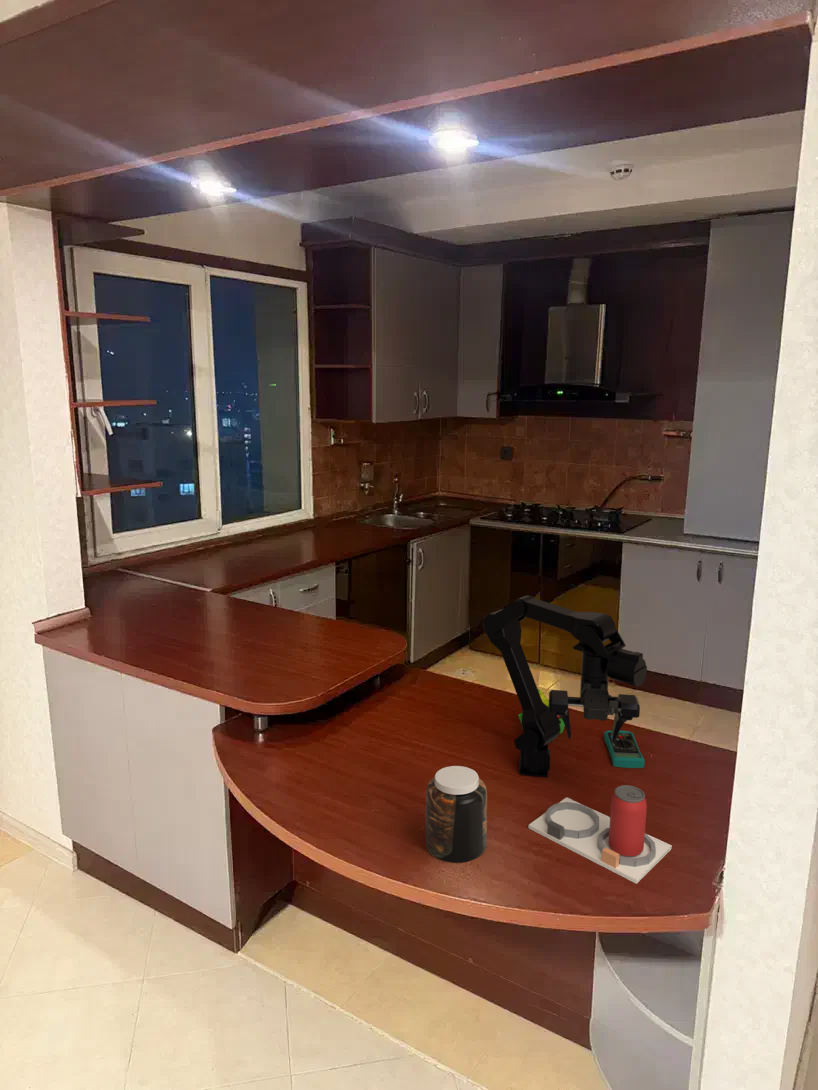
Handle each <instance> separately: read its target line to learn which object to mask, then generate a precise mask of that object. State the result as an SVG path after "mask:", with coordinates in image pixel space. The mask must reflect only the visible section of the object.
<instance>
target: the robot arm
mask: <svg viewBox="0 0 818 1090" xmlns="http://www.w3.org/2000/svg"><path fill="white" fill-rule="evenodd" d="M526 618H528V619H531V620H534V621H537V622H540V623H542V624H546V625H547V626H548V625H549V626H551V627H554V628H556V629H560V630H564V631H566V632H567V633H569V634H571V635H572V637H573V638H574V639H575V640H576V641H578V643H576V644H575V645H574V646H572V648H573V650H575V651H578V652H581V653H582V654H581V656H582V657H581V669H580V670H581V671H580V672H581V673H580V690H579V691H580V692H579V696H569V694H568V690H563V689H562V690H561V689H559V690H558V689H551V690H550V691H549V693H548V700H549V707H547V706H546V705H545V704H544V703H543V701H542V699H541V697H540V694H539V691H538V689H539V688H538V687H537V684H536V681H535V678H534V675H533V673H532V671H531V668H530V666H529V663H528V659H527V658H526V655H525V652H524V649H523V647H522V645H521V641H522V640H521V639H522V626H521V622H522V621H523V620H524V619H526ZM482 627H483V631H484V632H485V634H486V636H487V639H488V640H489V642H490V643H491V644H492V645H494V647H495V648H496V649H498V650H499V651H500V653H501V656H502V659H503V661H504V663H505V666H506V669H507V673H508V675H509V677H510V680H511V682H512V685H513V688H514V691H515V693H516V696H517V698H518V701H519V704H520V706H521V710H522V711H521V713H522V723H521V722H520V724H522V725H521V729H522V728H523V729H522V731H523V733H522V734H521V735H519V736H517V737H516V738H514V740H513V743H514V747H515V749H516V750H517V751H518V750H519V751H520V755H519V757H520V758H519V763H518V764H519V766H518V767H519V768H518V774H519V775H520V776H527V777H528V776H529V777H539V778H540V777H542V778H547V777H548V772H549V771H550V768H551V750H550V749H549V744H551V743H553V742H554V740H555V739H557V738H558V737H559V735H560V734H561V733H560V731H561V728H560V723H561V721H560V720H559V718H558V716H557V715H560V716H561V718H562V720H563V722H564V724H565V727H564V728H565V730H566V733H567V737H568V739H571V737H572V730H571V721H570V711H569V707H581V708H583V709H582V710H583V718H584V719H585V720H589V721H592V720H597V721H603V722H604V721H607V720H608V716H614V719H613V723H612V742H614V741H615V739H616V737H617V735H618V733H619V731H620V730H621V728H622V727H623V725H624V724H625V723H626V722H627V721H632V720H633V718H636V719H637V718H640V713H641V712H640V711H641V706H640V703H639V699H638V697H637V696H636V695H635V694H623V693H621V694H620V693H619V694H618V695H617V696H612V695H611V694H610V693H609V679H611V680H615V681H617V682H620V683H624V684H627V685H630V686H634V687H638V688H639V687H640V686H641V685H642V684H643V683H644V681H645V679H646V676H647V671H648V665H647V663H646V660H645V659H644V654H643V653H642V652H638V651H631V650H627V649H625V647H626V644H625V641H624V640H623V638H622V636H621V634H620V633H619V631H618V629H617V627H616V623H615V621H614V619H613V617H612V616H611V615H609V614H607V613H603V612H595V611H576V610H572V609H571V608H570V609H569V608H566V607H563V606H560V605H557V604H553V603H550V602H547V601H545V600H541V599H538V598H535V597H534V596H532V595H528V594H527V595H525V596H522V597H519V598H517V599H515V600H514V601H513V602H512V603H510V604H509V605H508V606H506V607H504V608H502V609H499V610H497V611H494V612H491V613H488V615H486V616H485V617H484V619H483V621H482ZM608 640H609V641H610V642H609V643H607V644H606V645H604V643H605V642H608ZM537 688H538V689H537ZM559 733H560V734H559Z"/></svg>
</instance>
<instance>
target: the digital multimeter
mask: <svg viewBox="0 0 818 1090" xmlns="http://www.w3.org/2000/svg"><path fill="white" fill-rule="evenodd" d="M603 740H604V743H605V745H606V747H607V750H608V753H609V756H610V760H611V763H612V766H613V767H614V768H615V767H616V768H623V769H625V768H626V769H643V768H645V758H644V756H643V754H642V753H641V751H640V748H639V746H638V743H637V741H636V738H635V735H634V733H633V731H628V730H621V729H620V731H619V733H618V735H617V737H616V739H615V741H614V742H612V730H611V729H610V730H607V731H604V732H603Z"/></svg>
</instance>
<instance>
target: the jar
mask: <svg viewBox="0 0 818 1090" xmlns="http://www.w3.org/2000/svg"><path fill="white" fill-rule="evenodd" d="M434 774H435V775H434V777H433V778H432V779H430V781H429V782H428V783H427V786H426V791H425V848H426V850H427V851H428V852H429V854H430V855H431V856H432V857H434V858H435V859H438V860H440V861H443V862H446V863H447V862H449V863H456V864H457V863H460V864H461V863H466V862H471V861H473V860H476V859H478V858H479V857H480V856H482V855H483V854H484V852H485V851H486V847H487V833H488V831H487V829H488V791H487V785H486V784H485V782H484V781H483V780H482V779H481V778H479V775H478V773H477V772H476V771H475V770H474V769H472V768H469V767H467V766H462V765H451V766H445V767H443V768H441V769H439V770H437V772H436V773H434Z"/></svg>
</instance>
